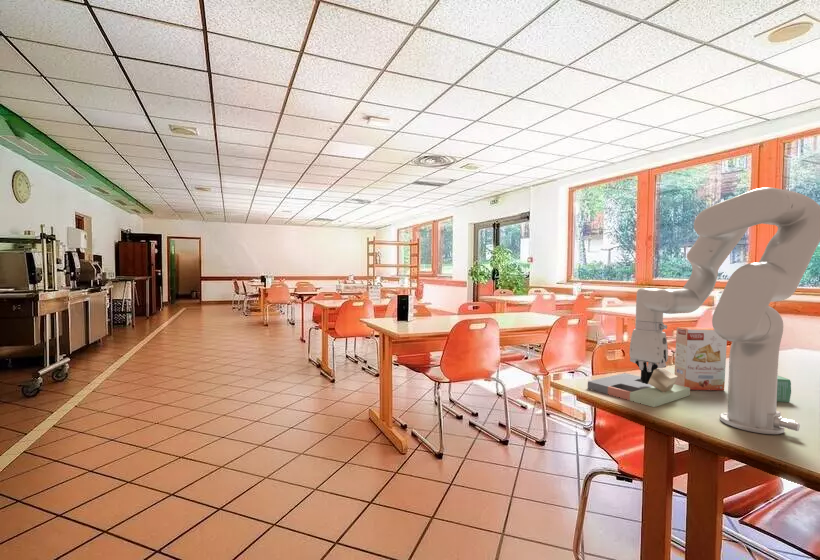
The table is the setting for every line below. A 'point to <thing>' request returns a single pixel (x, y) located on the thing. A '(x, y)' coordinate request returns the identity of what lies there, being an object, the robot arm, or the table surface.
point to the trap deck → (637, 390)
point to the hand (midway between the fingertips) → (646, 382)
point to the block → (662, 379)
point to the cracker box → (700, 358)
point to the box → (783, 389)
